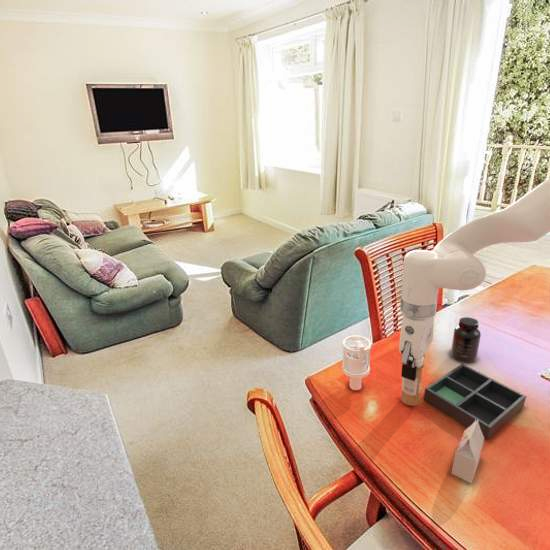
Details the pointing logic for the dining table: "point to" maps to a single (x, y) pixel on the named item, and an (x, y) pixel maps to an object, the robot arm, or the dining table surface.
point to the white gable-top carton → (468, 453)
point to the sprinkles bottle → (412, 385)
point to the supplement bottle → (466, 340)
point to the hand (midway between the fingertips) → (412, 371)
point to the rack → (475, 399)
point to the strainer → (356, 360)
